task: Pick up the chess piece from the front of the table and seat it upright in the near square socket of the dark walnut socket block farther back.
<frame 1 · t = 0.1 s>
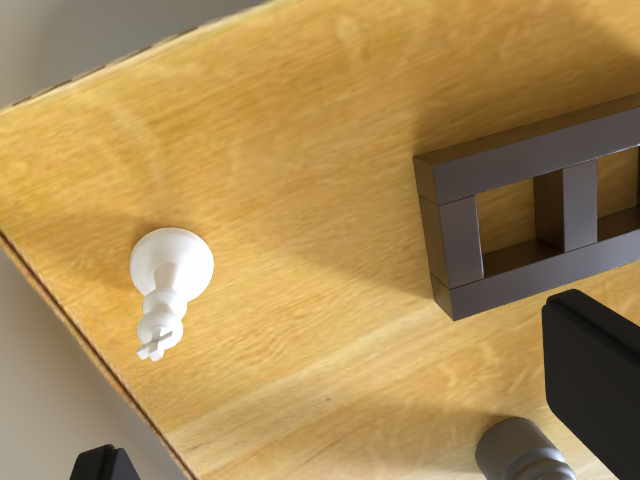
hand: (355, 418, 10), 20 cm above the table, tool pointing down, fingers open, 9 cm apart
chess piece: (172, 263, 29), on the table
socket block: (550, 195, 33), on the table
candle holder: (506, 445, 41), on the table
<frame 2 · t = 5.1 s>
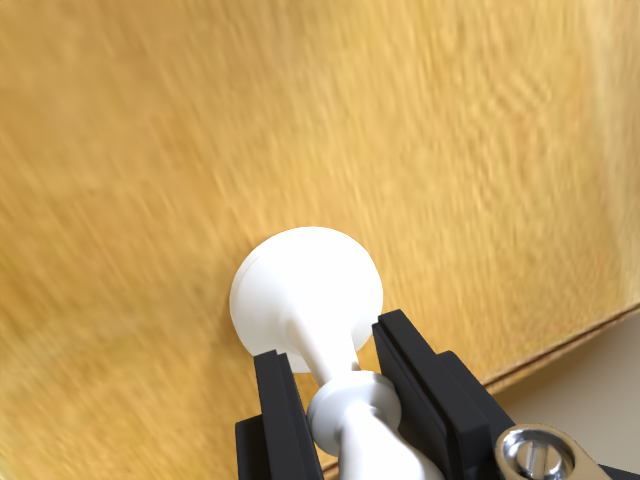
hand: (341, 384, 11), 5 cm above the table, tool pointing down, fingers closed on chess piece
chess piece: (305, 295, 16), on the table, touching gripper
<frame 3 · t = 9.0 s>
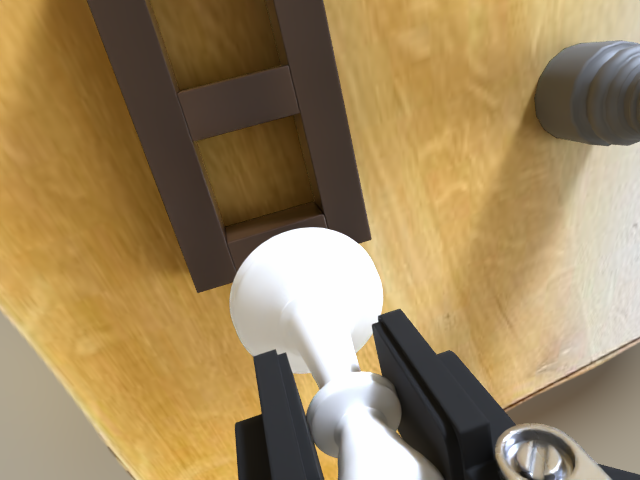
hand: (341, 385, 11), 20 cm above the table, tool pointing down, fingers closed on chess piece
chess piece: (305, 296, 16), point 15 cm above the table, touching gripper
socket block: (237, 100, 27), on the table
candle holder: (573, 92, 32), on the table
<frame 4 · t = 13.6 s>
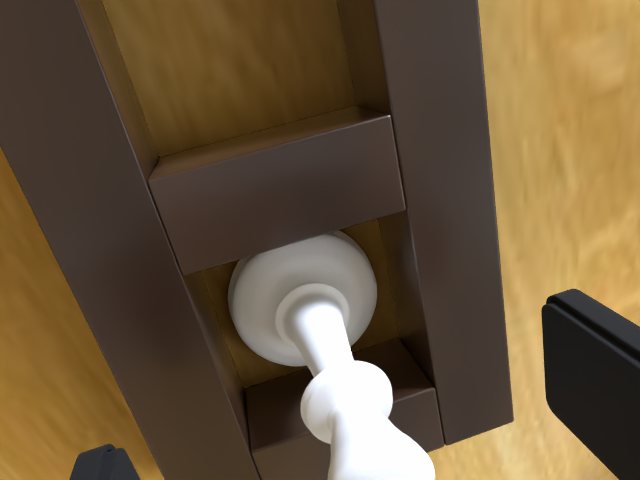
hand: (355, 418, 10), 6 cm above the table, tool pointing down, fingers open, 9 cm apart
chess piece: (301, 291, 16), resting in socket block
socket block: (271, 171, 14), on the table
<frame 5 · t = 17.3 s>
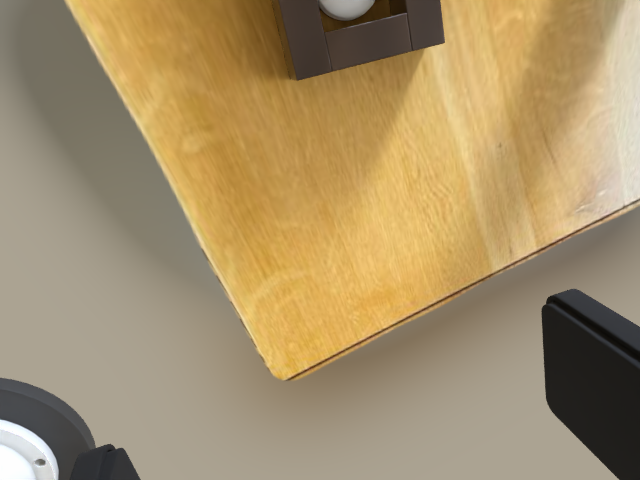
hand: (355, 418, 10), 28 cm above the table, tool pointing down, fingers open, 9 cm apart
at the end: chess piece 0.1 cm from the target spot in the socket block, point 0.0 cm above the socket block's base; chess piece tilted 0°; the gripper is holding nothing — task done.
